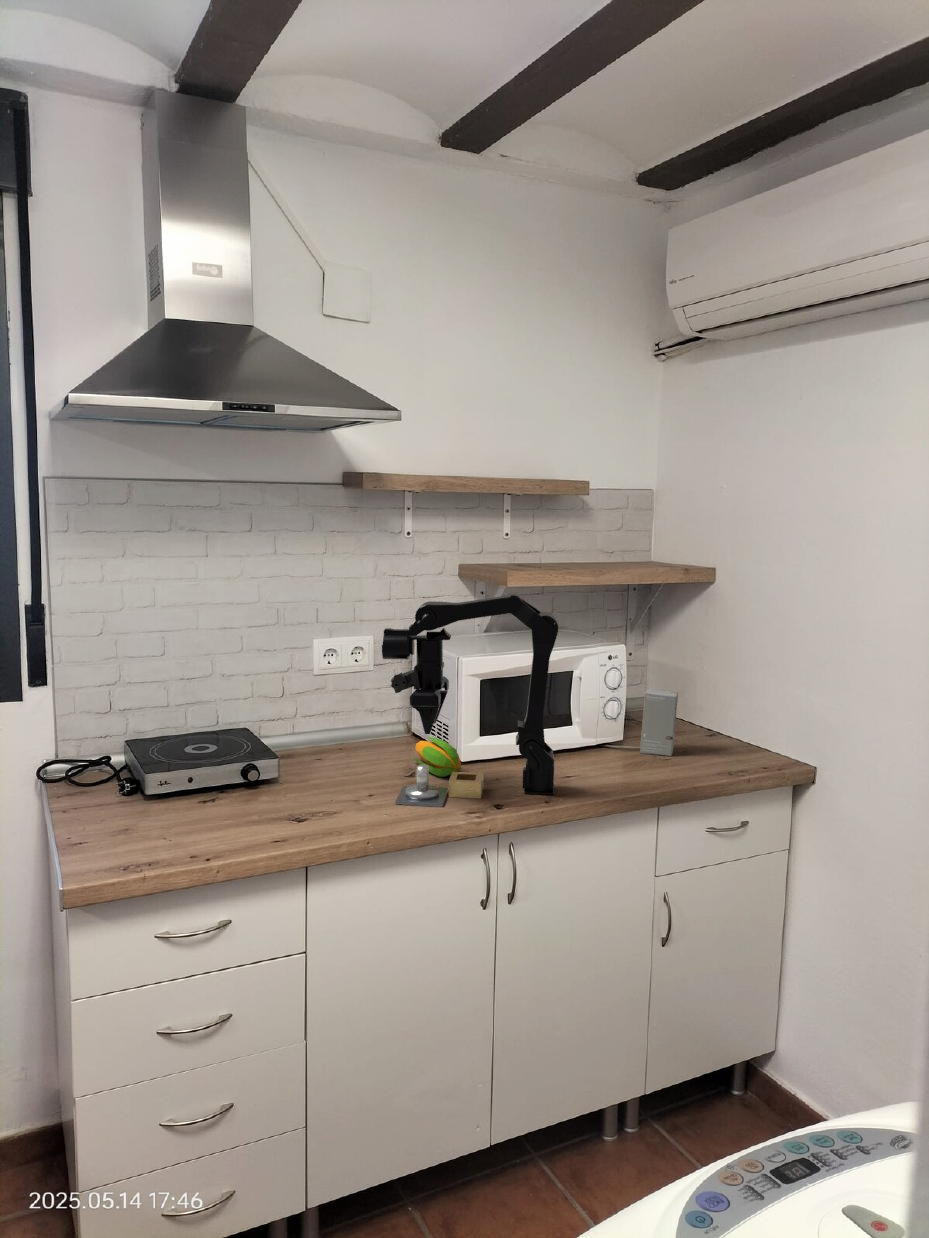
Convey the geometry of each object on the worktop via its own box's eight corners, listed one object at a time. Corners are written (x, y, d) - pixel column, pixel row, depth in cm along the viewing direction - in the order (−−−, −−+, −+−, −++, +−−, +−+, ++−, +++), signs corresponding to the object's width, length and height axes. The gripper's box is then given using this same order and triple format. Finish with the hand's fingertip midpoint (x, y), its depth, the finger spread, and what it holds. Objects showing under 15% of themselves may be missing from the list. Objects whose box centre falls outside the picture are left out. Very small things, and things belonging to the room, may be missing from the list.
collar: (483, 788, 204) (483, 773, 203) (480, 798, 197) (481, 782, 196) (452, 786, 204) (452, 771, 204) (448, 796, 197) (448, 781, 197)
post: (448, 791, 201) (448, 760, 200) (442, 806, 191) (443, 774, 190) (403, 789, 202) (403, 758, 201) (395, 804, 192) (395, 772, 191)
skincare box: (639, 753, 233) (642, 693, 231) (642, 746, 240) (645, 687, 238) (673, 757, 231) (676, 695, 229) (675, 749, 238) (678, 690, 236)
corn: (441, 750, 206) (403, 729, 223) (438, 783, 206) (401, 760, 224) (469, 748, 209) (430, 728, 227) (467, 780, 210) (428, 758, 227)
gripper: (400, 651, 210) (401, 717, 212) (385, 666, 192) (386, 738, 194) (448, 652, 209) (449, 718, 211) (437, 667, 191) (438, 740, 193)
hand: (430, 728), depth 202 cm, fingers open, 9 cm apart
